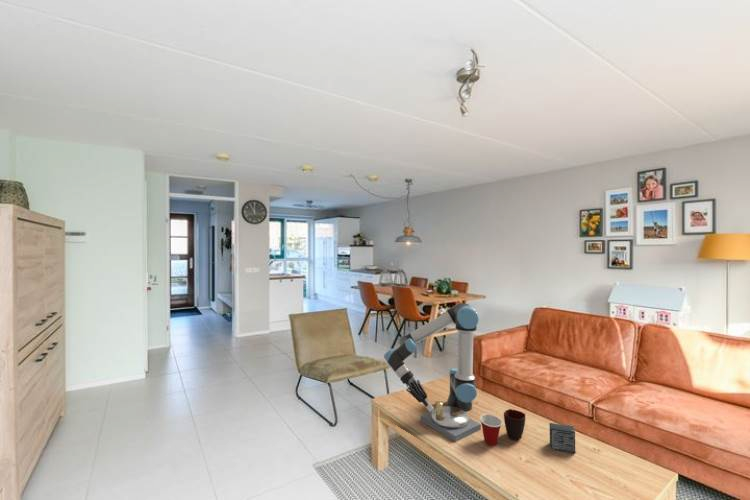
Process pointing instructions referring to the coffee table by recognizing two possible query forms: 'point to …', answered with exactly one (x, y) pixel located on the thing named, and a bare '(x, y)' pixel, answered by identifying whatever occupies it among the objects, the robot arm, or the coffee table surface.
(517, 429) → the mug
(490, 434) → the plastic cup
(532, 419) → the coffee table surface
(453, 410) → the silver disc with stripe
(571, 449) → the small box
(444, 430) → the stand
